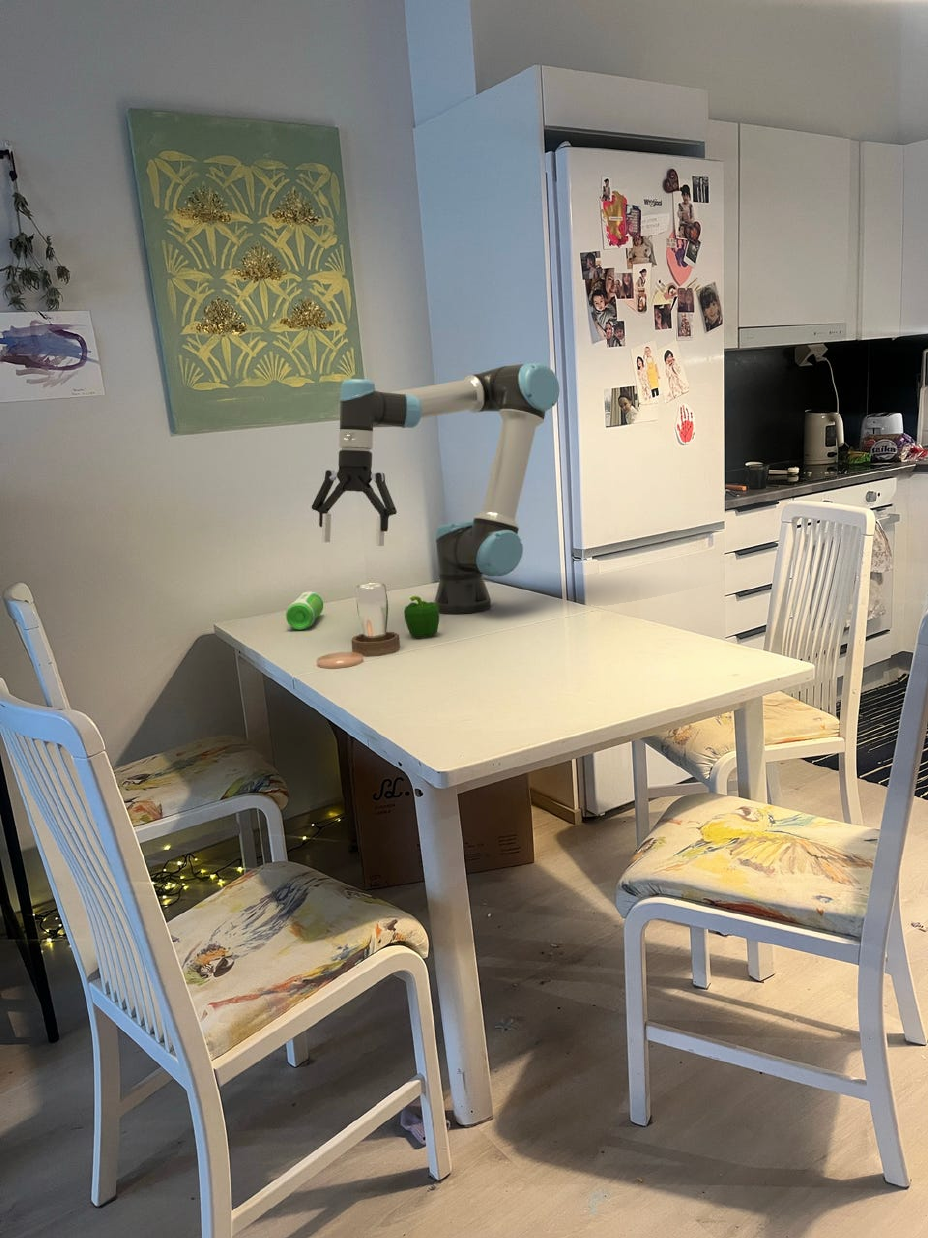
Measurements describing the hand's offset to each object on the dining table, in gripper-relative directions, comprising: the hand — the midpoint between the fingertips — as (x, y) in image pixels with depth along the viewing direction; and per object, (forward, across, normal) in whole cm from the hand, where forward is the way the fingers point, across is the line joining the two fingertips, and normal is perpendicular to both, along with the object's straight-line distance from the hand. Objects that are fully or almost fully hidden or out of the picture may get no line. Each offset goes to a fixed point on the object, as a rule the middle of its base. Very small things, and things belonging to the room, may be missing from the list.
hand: (352, 544), depth 219 cm
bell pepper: (+22, +14, +11) cm, 28 cm away
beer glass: (+24, +8, -2) cm, 25 cm away
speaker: (+24, -23, +22) cm, 40 cm away
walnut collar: (+24, +8, -2) cm, 25 cm away
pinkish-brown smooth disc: (+25, +4, -13) cm, 28 cm away
